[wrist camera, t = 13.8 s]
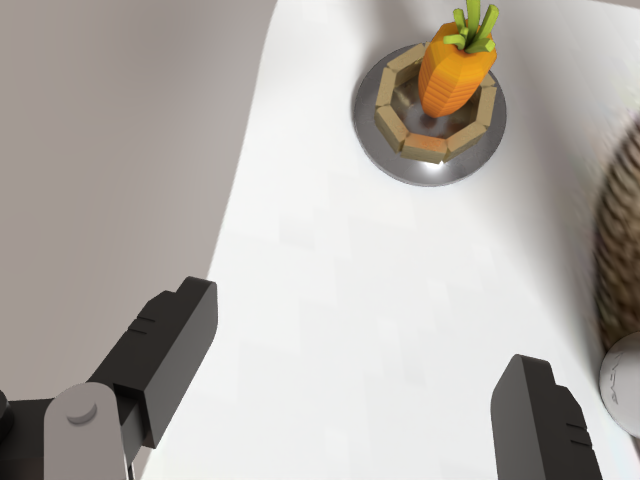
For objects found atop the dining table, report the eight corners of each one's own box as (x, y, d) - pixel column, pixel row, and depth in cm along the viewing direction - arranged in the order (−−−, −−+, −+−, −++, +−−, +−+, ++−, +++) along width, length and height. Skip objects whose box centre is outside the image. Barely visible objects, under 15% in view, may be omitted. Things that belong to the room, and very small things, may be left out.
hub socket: (514, 62, 43) (530, 37, 40) (489, 200, 41) (504, 188, 37) (371, 38, 45) (373, 11, 41) (340, 170, 43) (339, 155, 39)
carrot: (454, 142, 42) (519, 53, 27) (400, 134, 42) (436, 40, 27) (462, 92, 42) (529, -22, 27) (409, 84, 43) (448, -34, 28)
